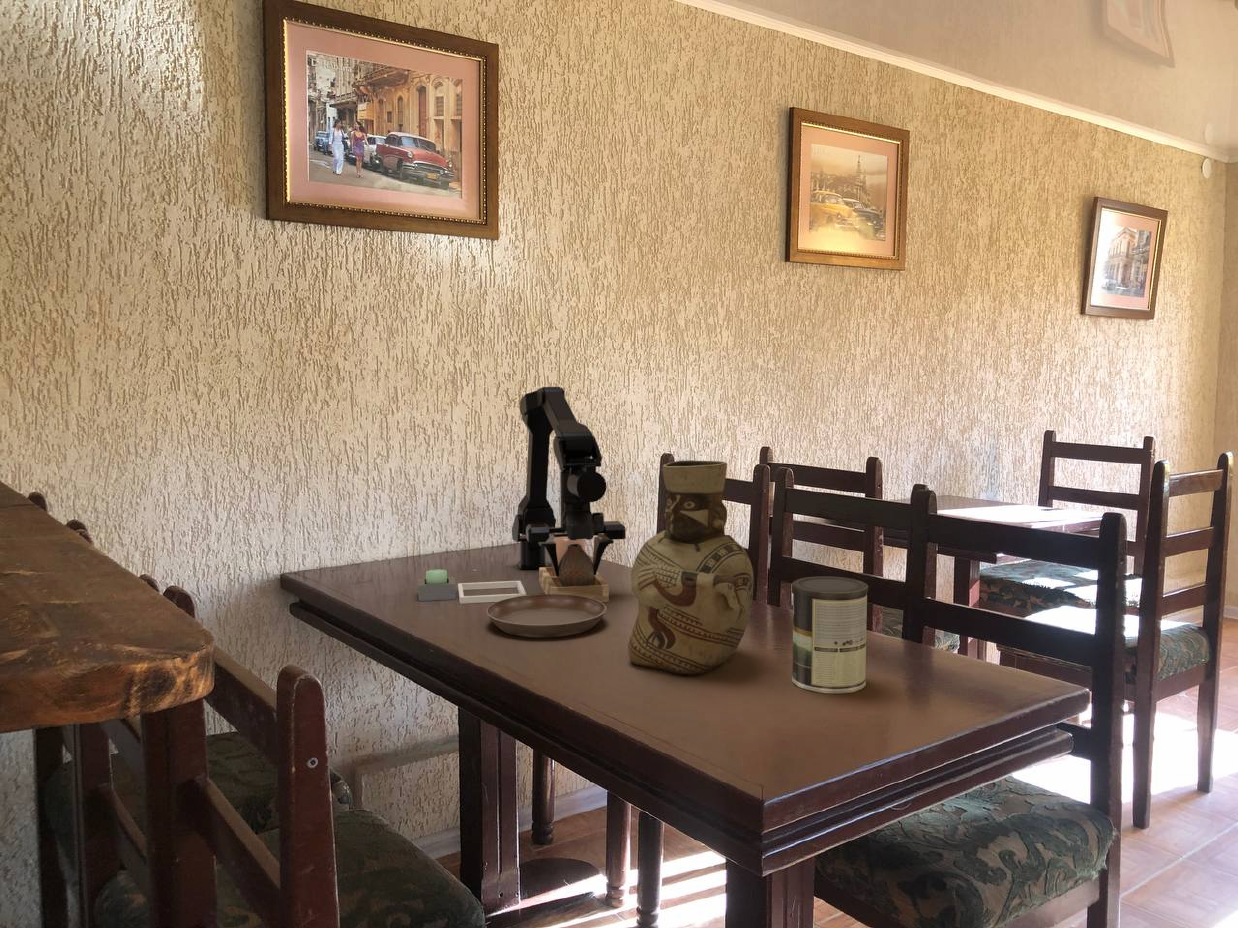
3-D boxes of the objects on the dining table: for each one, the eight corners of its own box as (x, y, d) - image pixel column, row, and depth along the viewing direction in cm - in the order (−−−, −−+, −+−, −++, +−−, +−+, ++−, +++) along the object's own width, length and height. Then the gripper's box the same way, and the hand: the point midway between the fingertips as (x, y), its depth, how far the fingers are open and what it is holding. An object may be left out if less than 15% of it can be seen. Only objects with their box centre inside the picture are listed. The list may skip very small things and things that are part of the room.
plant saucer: (591, 645, 159) (591, 625, 158) (469, 638, 163) (469, 619, 162) (617, 614, 179) (617, 596, 179) (508, 609, 183) (508, 591, 183)
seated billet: (550, 578, 203) (550, 535, 202) (582, 576, 204) (582, 533, 204) (554, 584, 197) (554, 540, 196) (587, 583, 198) (587, 539, 197)
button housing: (418, 593, 195) (418, 578, 195) (454, 591, 197) (454, 576, 197) (418, 601, 189) (418, 585, 188) (455, 599, 190) (455, 584, 190)
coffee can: (777, 684, 138) (778, 585, 136) (813, 666, 146) (814, 572, 144) (845, 699, 131) (847, 595, 130) (878, 680, 139) (880, 582, 138)
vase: (595, 584, 194) (593, 540, 193) (593, 593, 187) (591, 547, 186) (560, 585, 194) (558, 542, 193) (557, 594, 187) (555, 549, 186)
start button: (426, 592, 194) (426, 569, 194) (447, 591, 195) (446, 568, 195) (426, 596, 190) (426, 573, 190) (447, 595, 191) (447, 572, 191)
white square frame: (457, 589, 199) (457, 583, 199) (520, 586, 201) (520, 580, 201) (459, 603, 186) (459, 597, 186) (526, 600, 189) (526, 594, 189)
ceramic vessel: (660, 688, 136) (660, 472, 133) (608, 649, 155) (606, 460, 153) (781, 673, 143) (783, 467, 140) (716, 636, 162) (717, 455, 159)
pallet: (539, 582, 204) (539, 567, 204) (591, 580, 207) (591, 565, 206) (551, 604, 185) (551, 588, 185) (608, 602, 187) (608, 585, 187)
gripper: (530, 502, 179) (532, 586, 181) (631, 499, 183) (631, 582, 184) (525, 495, 190) (526, 574, 192) (619, 492, 194) (620, 570, 195)
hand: (575, 575), depth 191 cm, fingers open, 7 cm apart
